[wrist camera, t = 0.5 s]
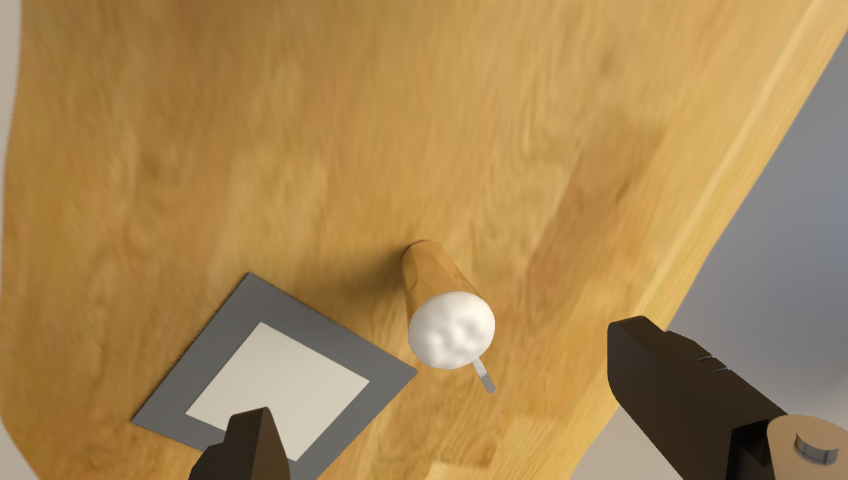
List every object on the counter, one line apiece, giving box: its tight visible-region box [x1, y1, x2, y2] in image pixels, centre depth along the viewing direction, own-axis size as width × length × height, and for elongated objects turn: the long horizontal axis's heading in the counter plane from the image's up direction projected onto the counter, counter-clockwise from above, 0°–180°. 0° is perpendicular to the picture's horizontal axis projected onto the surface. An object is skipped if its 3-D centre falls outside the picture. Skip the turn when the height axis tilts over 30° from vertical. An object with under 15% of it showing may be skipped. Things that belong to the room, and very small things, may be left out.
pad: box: [131, 272, 417, 480], centre depth 34 cm, size 14×14×1 cm
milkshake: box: [402, 240, 496, 394], centre depth 27 cm, size 5×5×10 cm
